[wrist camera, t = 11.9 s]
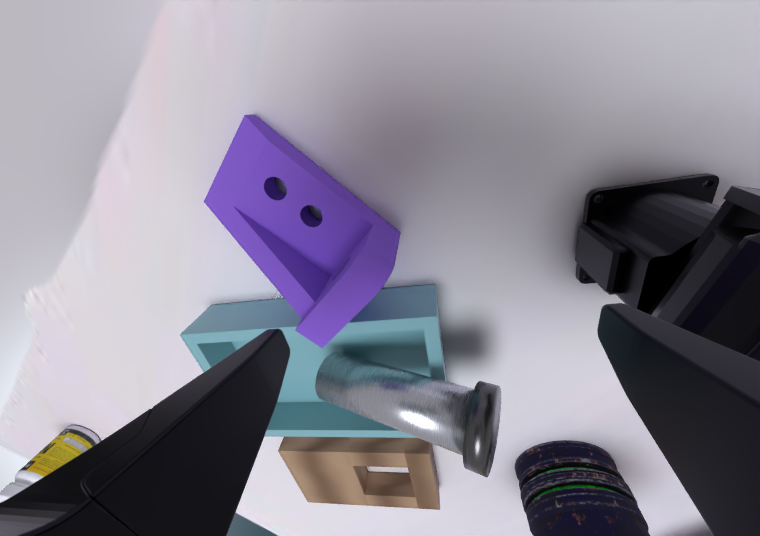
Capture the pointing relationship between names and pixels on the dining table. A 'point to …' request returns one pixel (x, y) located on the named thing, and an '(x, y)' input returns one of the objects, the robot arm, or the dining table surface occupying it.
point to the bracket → (302, 230)
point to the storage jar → (576, 492)
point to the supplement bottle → (51, 458)
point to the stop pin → (416, 405)
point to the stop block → (363, 470)
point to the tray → (358, 338)
